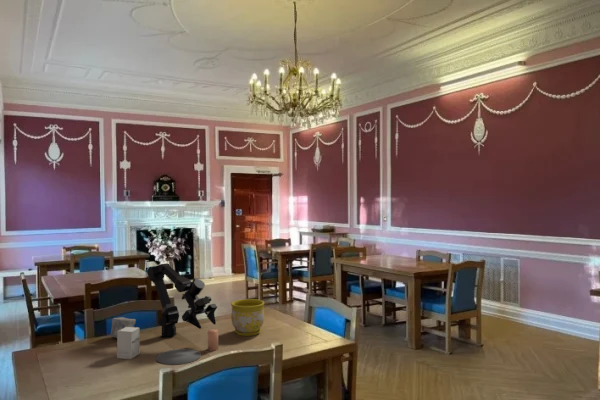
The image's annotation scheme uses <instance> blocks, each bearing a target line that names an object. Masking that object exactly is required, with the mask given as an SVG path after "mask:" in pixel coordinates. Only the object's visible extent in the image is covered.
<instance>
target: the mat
mask: <svg viewBox="0 0 600 400" xmlns="http://www.w3.org/2000/svg"><path fill="white" fill-rule="evenodd" d="M201 353H202V352H200V351H199V350H197V349H193V348H192V349H191V348H177V349H170V350H168V351H167V350H166V351H163V352H161V353H159V354H158V355H157V356H156V362H158V363H159V364H162V365H168V366H169V365H170V366H177V365H178V366H179V365H186V364H190V363H194V362H195V361H198V360H199V359H200V358H201V356H202V354H201Z"/></svg>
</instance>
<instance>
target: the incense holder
mask: <svg viewBox="0 0 600 400" xmlns="http://www.w3.org/2000/svg"><path fill="white" fill-rule="evenodd" d="M111 320H112V322H111V330H110V337H111V338H116V339H117V331H119V330H121V329H123V328H125V327H135V325H136V321H137V320H136V319H135V318H126V317H124V316H122V317H121V316H120V317H114V318H112V319H111Z"/></svg>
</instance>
